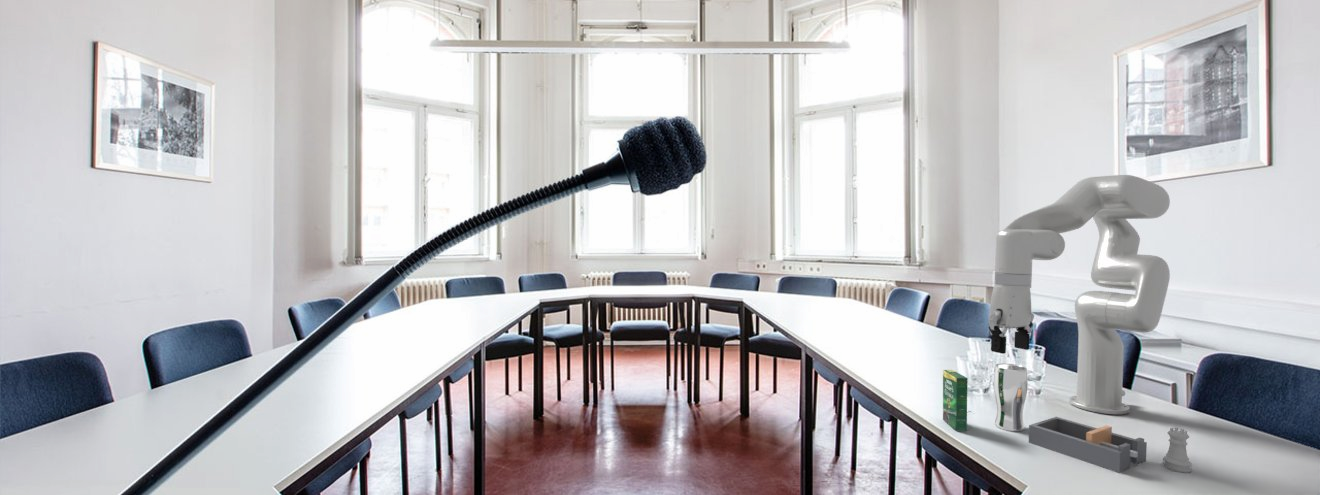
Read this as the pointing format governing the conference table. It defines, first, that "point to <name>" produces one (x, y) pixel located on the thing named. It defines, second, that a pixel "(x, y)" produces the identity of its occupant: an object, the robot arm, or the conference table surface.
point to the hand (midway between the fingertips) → (1010, 350)
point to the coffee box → (955, 400)
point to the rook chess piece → (1177, 452)
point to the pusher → (1104, 438)
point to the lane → (1086, 444)
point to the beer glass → (1010, 395)
